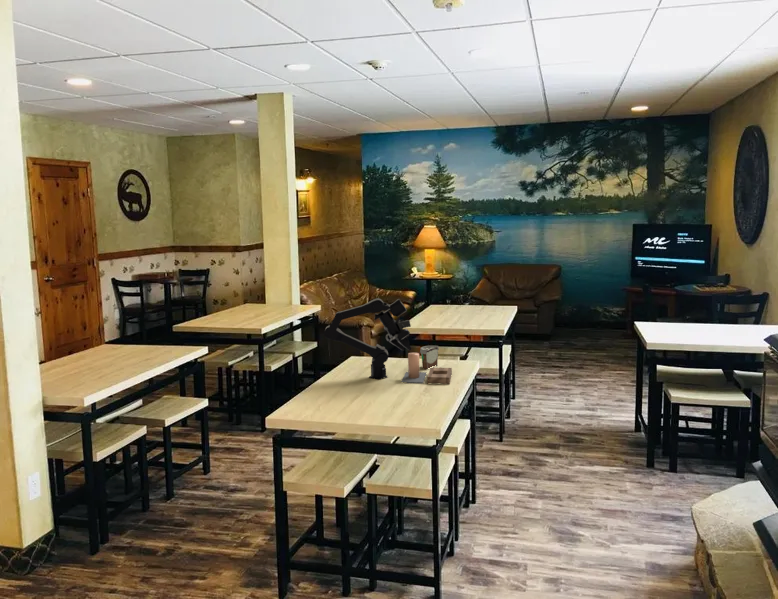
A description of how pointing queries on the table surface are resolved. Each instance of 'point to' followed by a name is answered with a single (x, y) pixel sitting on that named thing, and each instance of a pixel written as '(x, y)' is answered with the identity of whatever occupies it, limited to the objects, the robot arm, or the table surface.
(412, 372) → the pink tall rounded piece
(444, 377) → the well block
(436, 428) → the table surface
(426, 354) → the food container
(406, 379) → the mat
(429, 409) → the table surface
